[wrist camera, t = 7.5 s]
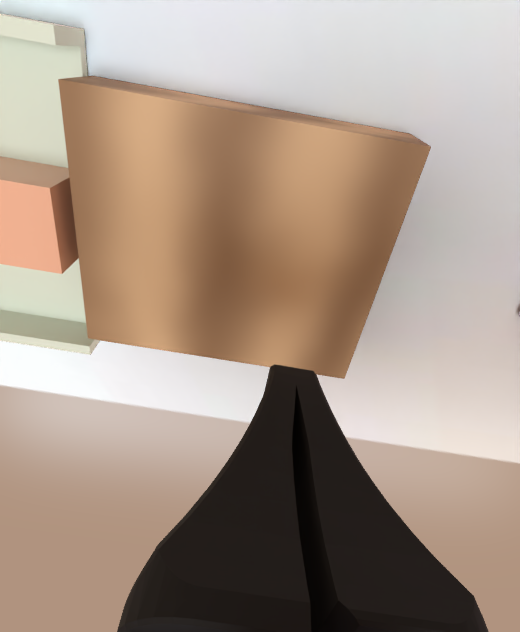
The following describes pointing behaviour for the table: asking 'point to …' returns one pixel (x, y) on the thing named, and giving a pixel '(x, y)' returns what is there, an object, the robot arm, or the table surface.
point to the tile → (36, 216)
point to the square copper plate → (231, 223)
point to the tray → (47, 148)
